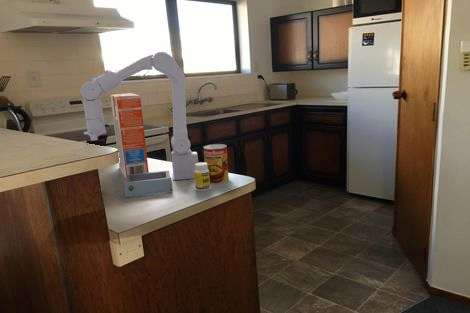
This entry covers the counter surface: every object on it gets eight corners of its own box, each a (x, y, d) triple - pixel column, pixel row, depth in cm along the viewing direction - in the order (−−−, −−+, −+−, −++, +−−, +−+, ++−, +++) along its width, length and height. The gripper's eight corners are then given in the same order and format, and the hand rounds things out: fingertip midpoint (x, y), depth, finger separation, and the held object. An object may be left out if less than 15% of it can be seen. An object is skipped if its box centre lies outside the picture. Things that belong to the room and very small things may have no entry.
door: (172, 190, 120) (171, 177, 119) (172, 192, 118) (171, 178, 117) (125, 196, 117) (123, 182, 116) (125, 197, 116) (123, 183, 115)
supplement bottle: (204, 192, 118) (202, 166, 116) (192, 190, 121) (190, 164, 119) (213, 187, 122) (211, 162, 120) (201, 186, 124) (199, 161, 123)
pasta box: (149, 177, 138) (140, 95, 132) (126, 181, 135) (116, 97, 129) (139, 164, 159) (130, 93, 152) (119, 167, 156) (110, 94, 149)
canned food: (202, 183, 127) (200, 148, 125) (210, 176, 135) (207, 144, 132) (224, 183, 125) (222, 148, 123) (231, 177, 133) (229, 144, 130)
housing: (170, 182, 130) (169, 170, 129) (171, 191, 121) (170, 177, 120) (128, 187, 127) (127, 174, 126) (126, 196, 118) (124, 182, 117)
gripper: (86, 116, 132) (91, 154, 135) (77, 121, 118) (84, 163, 121) (106, 115, 133) (111, 152, 136) (101, 120, 119) (107, 161, 122)
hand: (100, 157), depth 129 cm, fingers open, 7 cm apart
